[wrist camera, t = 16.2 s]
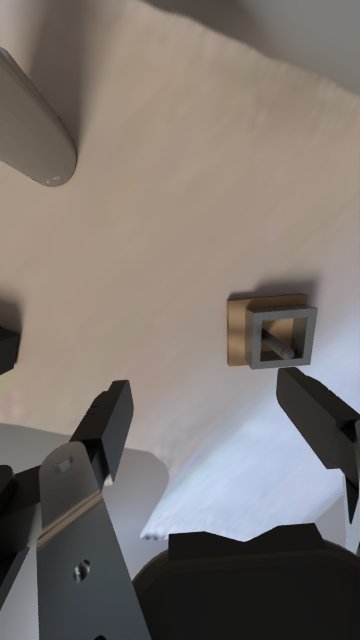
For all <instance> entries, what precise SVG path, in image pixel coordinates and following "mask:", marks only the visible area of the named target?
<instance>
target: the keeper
mask: <svg viewBox="0 0 360 640" xmlns="http://www.w3.org/2000/svg"><path fill="white" fill-rule="evenodd" d="M307 296H308V295H306V294H293V295H281V296H269V297H256V298H244V299H232V300H227V363H228V365H229V366H241V365H248V363H247V362H246V361H245V310H246V308H253V307H265V306H277V305H290V304H302V303H303V304H307ZM292 328H293V318H291V319H278V320H266V321H262V332H261V351H273V350H274V351H275V352H276V353H277V354H278V355H279V356H280V357H281V358H283V359H285V360H289V359H291V358H293V356H294V351H293V350H292V349H291V339H292Z"/></svg>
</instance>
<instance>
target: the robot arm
mask: <svg viewBox="0 0 360 640" xmlns="http://www.w3.org/2000/svg"><path fill="white" fill-rule="evenodd" d="M0 160H1V161H3V162H4V163H6V164H8V165H9V166H11V167H13V168H14V169H16V170H18V171H19V172H21V173H23V174H25V175H26V176H28V177H30V178H31V179H33V180H35V181H36V182H38V183H40V184H42V185H46V186H53V187H55V186H59V185H62V184H64V183H66V182H67V181H68V180H69V179H70V177H71V176H72V174H73V172H74V170H75V166H76V151H75V146H74V144H73V141H72V139H71V137H70V135H69V134H68V132H67V131H66V130H65V128H64V127H63V126H62V125H61V123H60V119H59V116H58V115H57V113H56V112H55V111H54V110H53V108H52V107H51V106H50V104H49V103H48V102H47V101H46V99H45V98H44V97H43V96H42V94H41V93H40V92H39V91H38V89H37V88H36V87H35V86H34V84H33V83H32V82H31V81H30V79H29V78H28V77H27V75H26V74H25V73H24V72H23V70H22V69H21V68H20V67H19V65H18V64H17V63H16V62H15V60H14V59H13V58H12V57H11V55H10V54H9V53H8V52H7V51H6V50H5V49H4V48H1V47H0ZM276 396H277V400H278V403H279V405H280V406H281V408H282V409H283V410H284V412H285V413H286V414H287V416H288V417H289V418H290V420H291V421H292V423H293V424H294V425H295V427H296V428H297V429H298V431H299V432H300V433H301V435H302V436H303V437H304V439H305V440H306V442H307V443H308V444H309V446H310V447H311V448H312V450H313V451H314V452H315V454H316V455H317V457H318V458H319V459H320V461H321V462H322V463H323V465H324V466H325V467H326V469H337V468H340V469H341V471H342V472H343V473H344V475H343V494H344V507H345V521H346V546H345V548H343V547H342V546H340V545H338V544H335V543H333V542H330V541H328V540H325V539H323V538H322V536H321V534H320V533H319V531H318V529H317V527H316V525H315V523H307V524H294V525H281V526H277V527H275V528H273V529H271V530H269V531H267V532H265V533H263V534H261V535H259V536H257V537H255V538H253V539H251V540H249V541H246V542H242V541H238V540H234V539H230V538H227V537H223V536H220V535H216V534H212V533H209V532H205V531H202V532H189V533H176V534H169V543H168V544H169V545H168V546H169V547H168V549H167V550H165V551H163V552H161V553H160V554H158V555H157V556H156V557H154V558H153V559H151V560H150V561H149V562H148V563H147V564H146V565H145V566H144V567H143V568H142V569H141V570H140V572H139V573H138V574H137V575H136V576H135V578H134V579H133V581H131V578H130V576H129V572H128V569H127V567H126V564H125V561H124V558H123V555H122V552H121V549H120V546H119V543H118V540H117V537H116V534H115V531H114V528H113V525H112V522H111V519H110V517H109V514H108V511H107V508H106V505H105V502H104V499H103V496H102V493H101V491H102V488H103V485H113V483H114V480H115V476H116V473H117V469H118V466H119V462H120V459H121V455H122V452H123V448H124V445H125V441H126V438H127V435H128V431H129V428H130V424H131V421H132V417H133V410H134V406H133V399H132V394H131V388H130V383H129V380H117V381H113V382H112V384H111V386H110V388H109V389H108V391H103V392H102V393H101V394H100V395H98V396H97V397H96V398H95V399H94V401H93V403H92V404H91V406H90V408H89V409H88V411H87V413H86V415H85V416H84V417H83V419H82V421H81V422H80V424H79V426H78V427H77V429H76V431H75V432H74V434H73V436H72V437H71V439H70V441H69V442H68V443H66V444H63V445H61V446H60V447H58V448H56V449H55V450H54V451H52V452H51V453H50V454H49V455H48V456H47V457H46V459H45V460H44V461H43V463H42V464H41V465H39V466H36V467H34V468H31V469H28V470H25V471H23V472H20V473H17V474H14V472H13V470H12V468H11V467H10V466H8V465H0V610H1V608H2V606H3V604H4V602H5V599H6V597H7V595H8V593H9V591H10V589H11V587H12V585H13V583H14V580H15V578H16V576H17V574H18V572H19V570H20V568H21V566H22V564H23V561H24V559H25V557H26V555H27V553H28V551H29V549H30V547H31V546H33V545H35V544H37V548H36V553H37V584H38V585H37V586H38V616H39V640H360V414H359V413H357V412H356V411H355V410H354V409H353V408H351V407H350V406H349V405H348V404H346V403H345V402H344V401H343V400H342V399H340V398H339V397H338V396H336V395H335V394H334V393H333V392H332V391H331V390H328V388H327V387H326V386H324V385H323V384H322V383H321V382H320V381H318V380H316V379H314V378H312V377H310V376H306V375H305V374H304V373H302V372H301V371H300V370H299V369H298V368H296V367H286V368H279V370H278V376H277V389H276Z"/></svg>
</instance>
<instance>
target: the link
mask: <svg viewBox="0 0 360 640" xmlns="http://www.w3.org/2000/svg"><path fill="white" fill-rule="evenodd" d="M316 315H317V308H316V307H312V306H309V305H306V304H303V303H302V304H290V305H277V306H265V307H253V308H246V310H245V361H246V362H247V363H248V365H249V366H250V368H251V369H264V368H276V367H289V366H301V365H310V362H311V354H312V346H313V339H314V331H315V323H316ZM291 318H293V328H292V339H291V349H292V350H293V351H294V356H293V358H291V359H289V360H285V359H283V358H281V357H280V356H279V355H278V354H277V353H276V352H275V351H274V350H273V351H261V332H262V321H266V320H278V319H291Z"/></svg>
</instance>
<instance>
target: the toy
mask: <svg viewBox="0 0 360 640" xmlns="http://www.w3.org/2000/svg"><path fill="white" fill-rule="evenodd" d="M18 338H19V334H16V333H14V332H11V331H9V330H6V329H3V328H1V327H0V375H2V374H4V373H6V372H7V371H9V370H11V369H13V368H14V362H15V356H16V350H17V344H18Z"/></svg>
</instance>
